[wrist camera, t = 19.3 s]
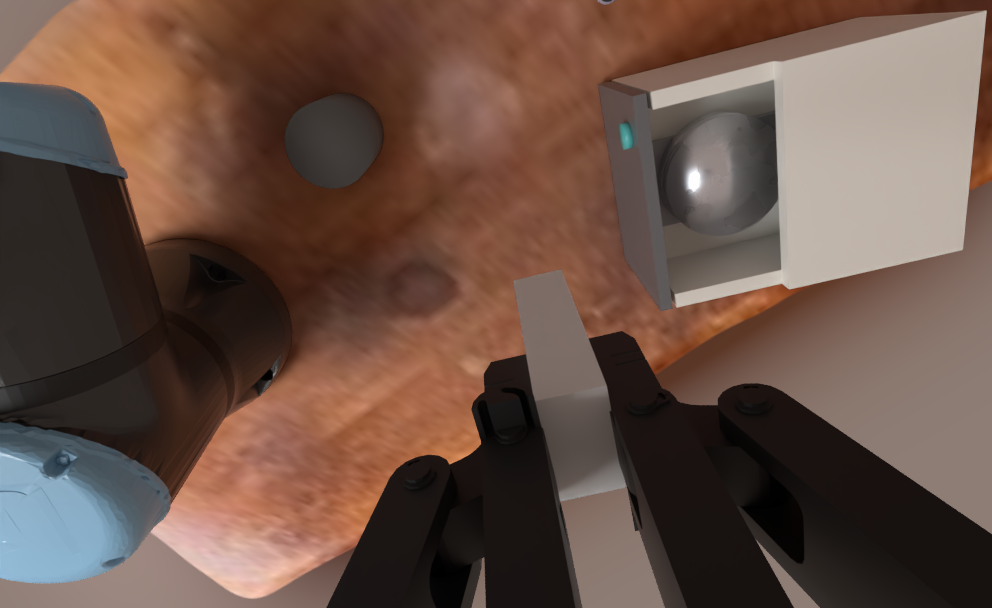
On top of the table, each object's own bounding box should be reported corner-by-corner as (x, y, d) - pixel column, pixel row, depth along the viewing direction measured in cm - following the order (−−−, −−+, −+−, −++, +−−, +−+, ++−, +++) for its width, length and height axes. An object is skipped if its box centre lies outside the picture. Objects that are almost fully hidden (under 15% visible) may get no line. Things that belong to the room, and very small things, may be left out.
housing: (636, 254, 49) (681, 313, 39) (611, 79, 43) (656, 93, 33) (855, 203, 48) (962, 249, 37) (858, 17, 42) (986, 10, 32)
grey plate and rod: (619, 261, 49) (653, 312, 40) (591, 85, 43) (623, 98, 34) (837, 210, 48) (924, 250, 38) (838, 23, 42) (941, 19, 33)
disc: (665, 238, 43) (673, 247, 41) (651, 127, 39) (659, 131, 38) (775, 212, 42) (789, 220, 40) (771, 98, 39) (786, 101, 37)
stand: (323, 177, 45) (303, 197, 40) (296, 103, 43) (271, 113, 38) (393, 160, 45) (382, 177, 40) (369, 84, 43) (355, 91, 37)
